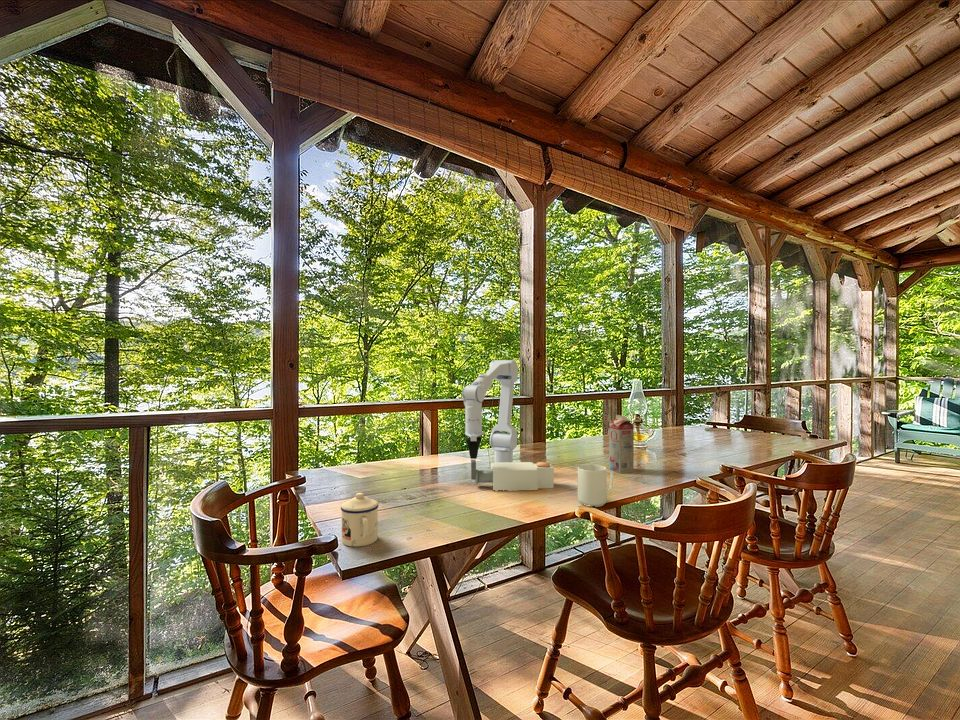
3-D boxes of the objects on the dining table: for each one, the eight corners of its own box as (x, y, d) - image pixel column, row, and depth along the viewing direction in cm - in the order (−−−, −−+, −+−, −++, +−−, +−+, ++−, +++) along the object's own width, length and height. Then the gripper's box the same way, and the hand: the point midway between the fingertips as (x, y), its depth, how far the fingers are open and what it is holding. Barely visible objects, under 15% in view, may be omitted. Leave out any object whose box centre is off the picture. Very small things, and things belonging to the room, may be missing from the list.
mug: (587, 509, 142) (587, 472, 142) (572, 500, 151) (572, 465, 150) (621, 505, 146) (621, 468, 146) (604, 496, 154) (604, 462, 154)
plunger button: (535, 472, 170) (535, 462, 170) (548, 471, 170) (548, 461, 170) (537, 475, 165) (537, 465, 165) (551, 475, 165) (551, 464, 165)
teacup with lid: (337, 537, 120) (337, 491, 120) (373, 531, 124) (373, 486, 124) (346, 555, 110) (346, 504, 109) (385, 548, 113) (385, 499, 113)
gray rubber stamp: (470, 481, 169) (470, 459, 169) (505, 481, 169) (505, 459, 169) (471, 485, 164) (471, 462, 164) (506, 484, 165) (506, 462, 164)
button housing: (490, 481, 173) (490, 462, 173) (548, 481, 174) (548, 461, 174) (493, 491, 161) (493, 470, 161) (555, 490, 162) (555, 469, 162)
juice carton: (619, 473, 185) (619, 416, 185) (609, 469, 191) (609, 414, 191) (633, 471, 187) (633, 416, 187) (623, 468, 194) (623, 414, 193)
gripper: (485, 422, 159) (485, 462, 159) (484, 416, 173) (484, 453, 174) (464, 422, 159) (464, 463, 159) (465, 416, 173) (465, 454, 173)
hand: (473, 458), depth 166 cm, fingers closed
